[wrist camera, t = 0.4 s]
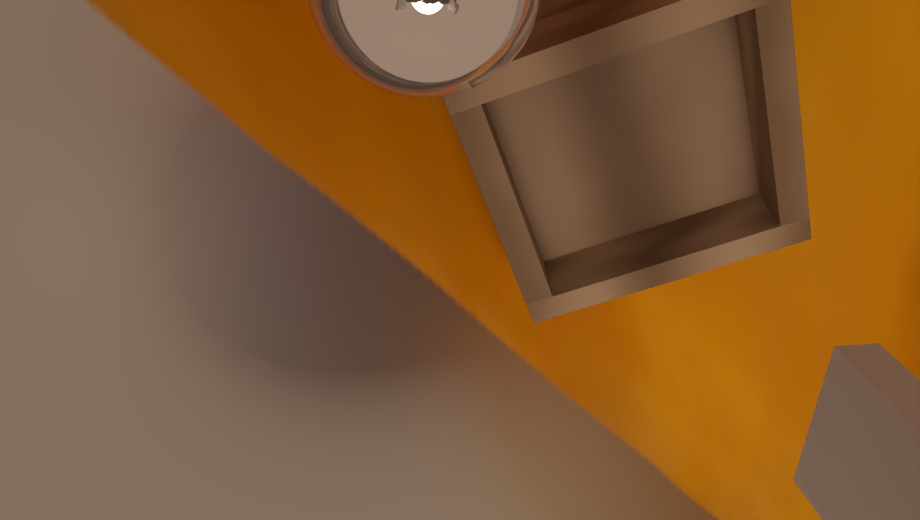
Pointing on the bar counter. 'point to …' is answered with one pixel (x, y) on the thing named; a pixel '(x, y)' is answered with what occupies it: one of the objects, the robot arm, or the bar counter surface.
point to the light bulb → (425, 40)
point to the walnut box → (639, 145)
